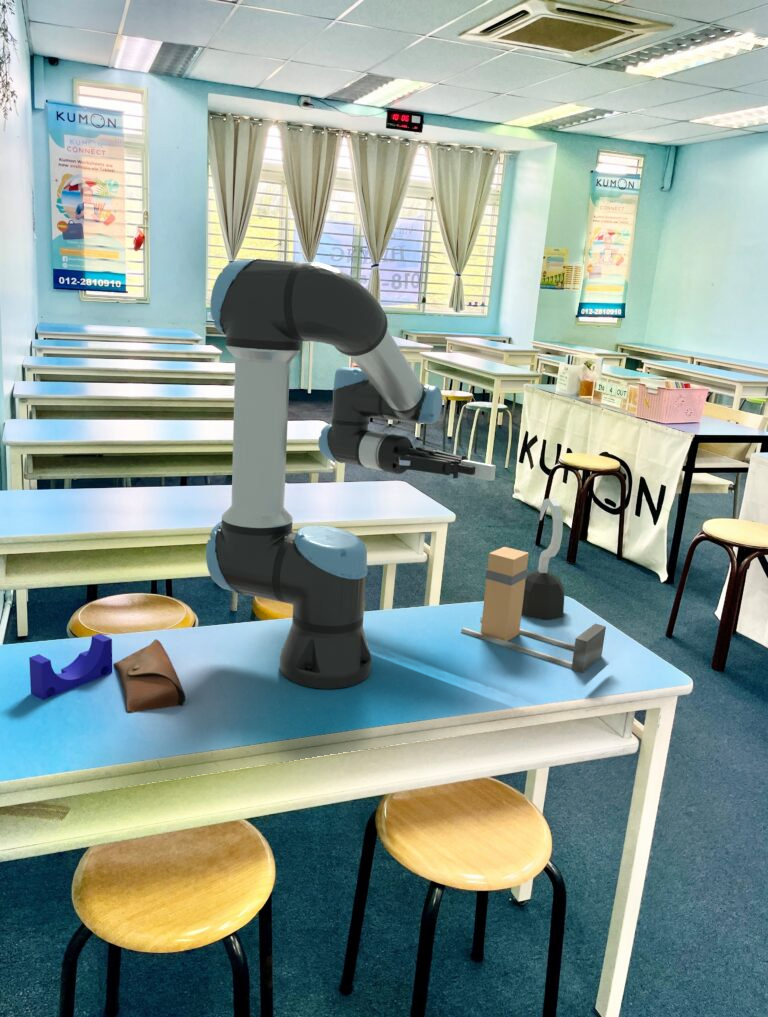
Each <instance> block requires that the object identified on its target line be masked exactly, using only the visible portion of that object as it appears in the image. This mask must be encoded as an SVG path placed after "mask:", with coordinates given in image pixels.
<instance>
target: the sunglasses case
mask: <svg viewBox="0 0 768 1017" xmlns="http://www.w3.org/2000/svg"><path fill="white" fill-rule="evenodd" d="M113 667H114V668H115V669H116V671H117V673H118V675H119V677H120V681H121V684H122V688H123V691H124V696H125V703H126V711H127V713H130V714H134V713H139V712H143V711H144V712H146V711H152V710H158V709H166V708H174V707H179V706H180V707H182V706H184V704H185V702H186V694H185V692H184V689H183V686H182V684H181V681H180V678H179V675H178V674H177V671H176V669H175V668H174V665H173V663H172V661H171V659H170V656H169V655H168V652H167V651H166V649H165V648H164V646H163V644H162V643H161V642H160V640H158V639H157V638H156V639H154V640H153V641H152V642H151V643H150V644H149V645H147V646H145V647H143V648H141V649H139V650H137V651H135V652H134V653H131V654H128V655H127V656H125V657H124V658H122V659H120V660H117V662H114V663H113Z"/></svg>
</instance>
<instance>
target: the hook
mask: <svg viewBox="0 0 768 1017" xmlns="http://www.w3.org/2000/svg"><path fill="white" fill-rule="evenodd" d="M548 508H549V509H550V511H551V515H552V516H551V518H552V534H551V539H550V544H549V545H548V547H547V548H546V549H544V550H543V551H541V552H540V555H539V558H538V568H537V570H536V571H532V572H528V573H527V578H526V580H525V589H524V597H523V606H522V614H521V616H524V617H527V618H531V619H536V620H537V619H539V620H544V621H549V620H555V619H561V618H563V617H564V612H565V610H564V608H565V587H564V584H563V583H562V581H561V579H559V578H558V577H557V576H556V575H554V574H553V573H551V572H549V571H548V570H549V569H548V568H549V563H550V559H551V558H554V557H556V555H557V554H558V552H559V550H560V549H561V548H560V547H561V544H562V539H563V530H564V529H563V528H564V519H563V513H562V507H561V505H560V503H559V502H558V500H557V499H556V498H545V499H544V500H543V502H542V504H541V506H540V511H539V512H540V513H539V521H542V520H543V518H544V516H545V515H544V514H545V513H546V511H547V509H548Z"/></svg>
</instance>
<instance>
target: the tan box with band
mask: <svg viewBox="0 0 768 1017" xmlns="http://www.w3.org/2000/svg"><path fill="white" fill-rule="evenodd" d="M529 554H530V553H529V552H527V551H524V550H519V549H515V548H511V547H507V546H503V547H500V548H498V549H496V550H493V551H491V552H489V553H488V559H487V560H488V561H487V569H485V570H486V572H485V587H484V588H485V589H484V599H483V607H482V608H483V609H482V616H481V617H482V622H481V625H480V626H481V627H480V633H482V634H486V635H489V636H492V637H495V638H498V639H501V640H504V641H507V642H510V641H511V640H512V639H514V638H515V637H517V636H518V635H520V634H519V631H520V628H521V622H522V606H523V597H524V589H525V580H526V578H527V574H528V562H529Z"/></svg>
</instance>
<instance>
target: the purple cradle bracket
mask: <svg viewBox="0 0 768 1017" xmlns="http://www.w3.org/2000/svg"><path fill="white" fill-rule="evenodd" d="M28 659H29V660H28V661H29V678H30V679H29V680H30V682H29V683H30V684H29V685H30V694H31V695H32V694H33V695H32V696H34V695H35V696H34V697H36V698H38V699H40V700H41V701H44V700H47V699H50V698H52V697H54V696H57V695H60V694H63V693H64V692H68V691H70V690H72V689H73V690H74V689H75V688H77V687H79V686H82V685H85V684H87V683H91V682H93V681H95V680H98V679H100V678H103V677H105V676H107V675H111V674H112V673H113V639H112V638H111V637H108V636H106V635H104V634H102V633H97V634H96V635H95V634H94V635H92V636H91V642H90V646H89V649H88V650H86V651H83V652H80V653H79V654H78V656H76V658H75V659H74V660H73V661H72V662H70V663H69V664H68V665H67V666H65V667H62V668H61V669H60V672H61V673H56V672H55V671H54V669H53V666H52V660H51V659H49V658H47V657H45V656H43V655H41V654H35V655H32V656H29V658H28Z"/></svg>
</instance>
